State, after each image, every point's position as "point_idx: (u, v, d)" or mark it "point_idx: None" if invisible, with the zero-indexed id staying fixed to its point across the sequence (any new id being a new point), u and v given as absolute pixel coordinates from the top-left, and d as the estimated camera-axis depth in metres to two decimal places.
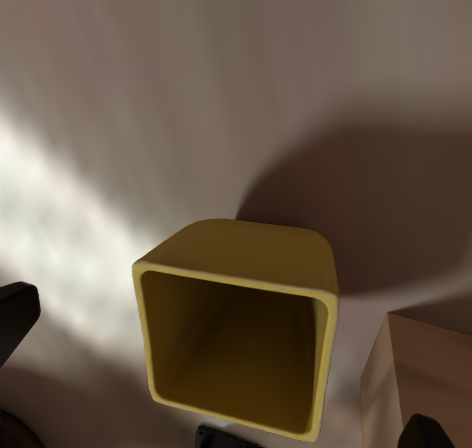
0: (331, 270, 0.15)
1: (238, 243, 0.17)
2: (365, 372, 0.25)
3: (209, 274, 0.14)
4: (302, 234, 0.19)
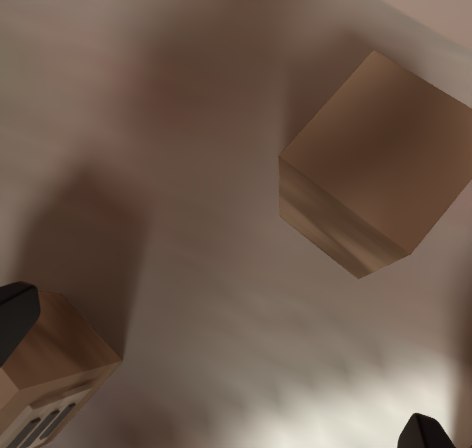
0: None
1: None
2: None
3: None
4: None
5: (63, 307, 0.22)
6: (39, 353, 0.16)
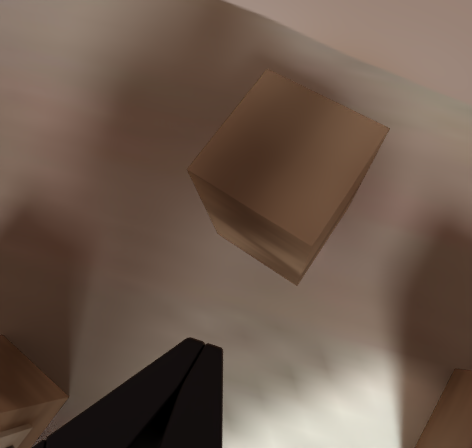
0: None
1: None
2: None
3: None
4: None
5: (3, 348, 0.21)
6: None
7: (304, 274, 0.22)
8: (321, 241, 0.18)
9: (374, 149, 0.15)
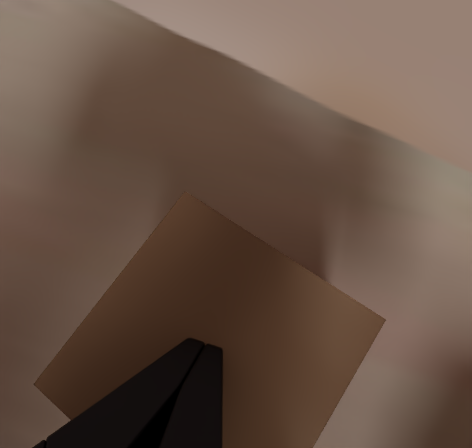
0: None
1: None
2: None
3: None
4: None
5: None
6: None
7: None
8: None
9: (358, 362, 0.08)
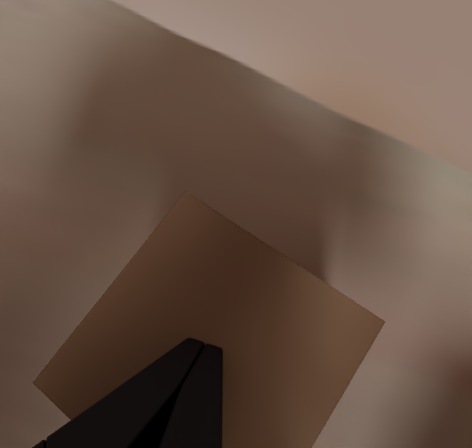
0: None
1: None
2: None
3: None
4: None
5: None
6: None
7: None
8: None
9: (357, 364, 0.08)
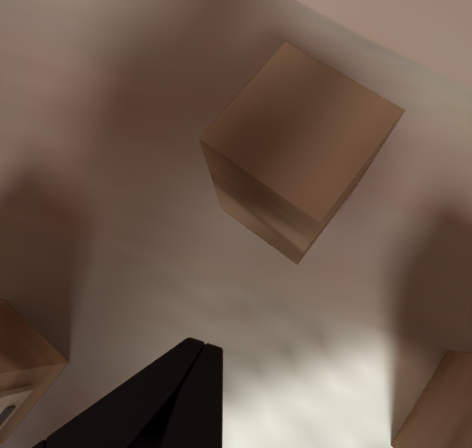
0: None
1: None
2: None
3: None
4: None
5: (5, 312, 0.21)
6: None
7: None
8: (326, 220, 0.18)
9: (388, 130, 0.15)
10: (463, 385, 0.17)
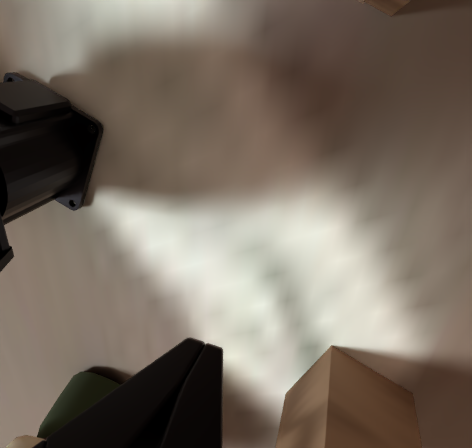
0: None
1: None
2: None
3: None
4: None
5: None
6: None
7: None
8: None
9: None
10: (394, 425, 0.21)
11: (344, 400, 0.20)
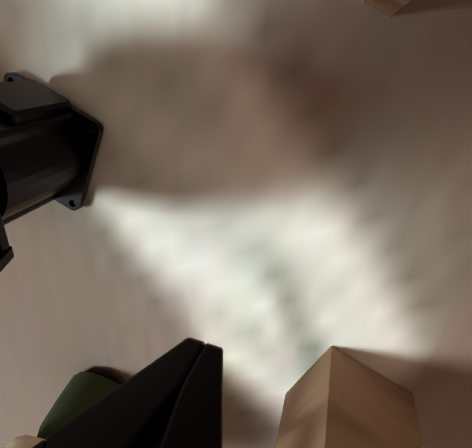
0: None
1: None
2: None
3: None
4: None
5: None
6: None
7: None
8: None
9: None
10: (394, 425, 0.21)
11: (344, 400, 0.20)
